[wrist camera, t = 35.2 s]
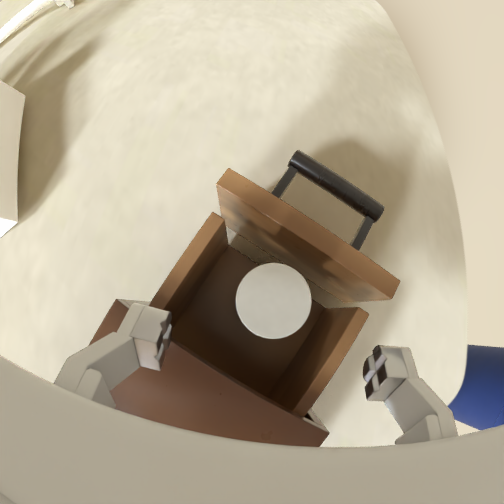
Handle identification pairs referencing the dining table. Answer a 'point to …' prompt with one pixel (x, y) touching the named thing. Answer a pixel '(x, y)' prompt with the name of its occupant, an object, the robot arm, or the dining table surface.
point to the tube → (273, 300)
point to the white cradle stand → (9, 153)
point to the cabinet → (205, 397)
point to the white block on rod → (28, 15)
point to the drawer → (292, 254)
